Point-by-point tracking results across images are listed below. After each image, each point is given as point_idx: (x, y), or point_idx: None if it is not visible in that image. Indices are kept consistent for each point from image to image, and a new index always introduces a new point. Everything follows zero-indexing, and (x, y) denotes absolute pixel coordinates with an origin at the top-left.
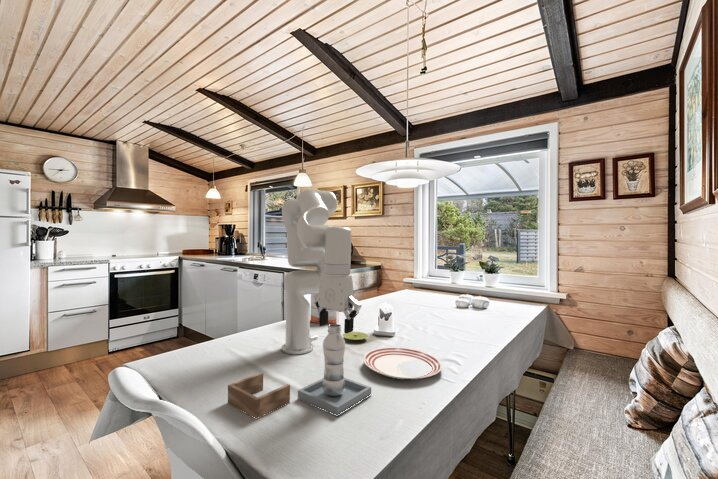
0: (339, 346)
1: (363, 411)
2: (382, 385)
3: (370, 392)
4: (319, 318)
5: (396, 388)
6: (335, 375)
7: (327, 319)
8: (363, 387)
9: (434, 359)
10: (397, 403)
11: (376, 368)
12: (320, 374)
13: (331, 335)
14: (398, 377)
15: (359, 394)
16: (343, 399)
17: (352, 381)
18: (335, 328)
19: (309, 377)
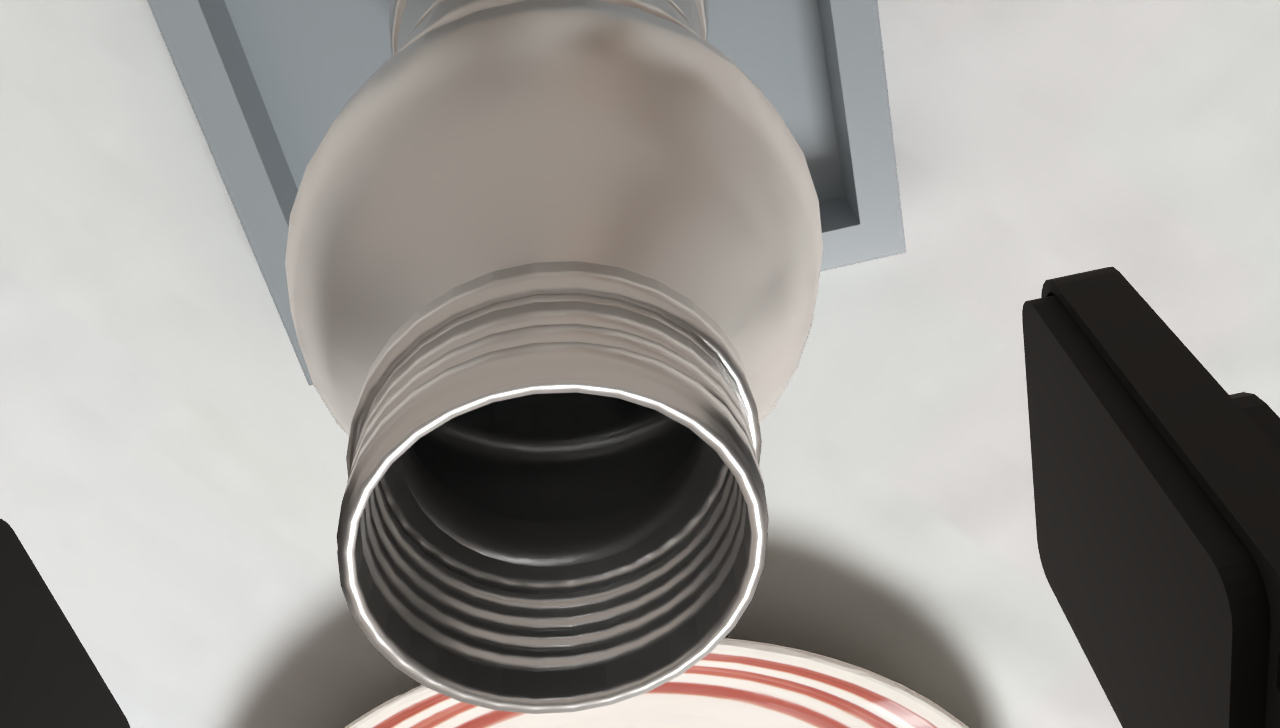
0: (285, 260)
1: (59, 63)
2: None
3: None
4: (1212, 398)
5: (325, 609)
6: (408, 16)
7: (1091, 648)
8: None
9: None
10: (51, 439)
11: (736, 699)
12: (1139, 194)
13: (478, 272)
14: (363, 717)
15: (222, 176)
16: (357, 11)
17: None
18: (361, 464)
19: (1183, 35)
